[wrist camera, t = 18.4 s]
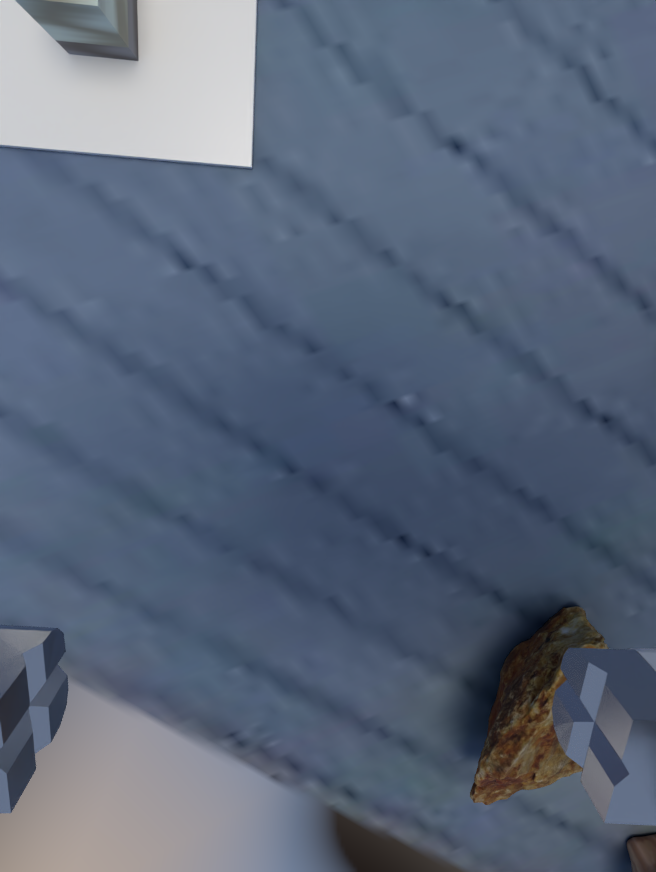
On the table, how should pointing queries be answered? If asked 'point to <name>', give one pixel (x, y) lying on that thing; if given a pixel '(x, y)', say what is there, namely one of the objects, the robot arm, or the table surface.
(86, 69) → the white board
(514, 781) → the rock
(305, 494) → the table surface
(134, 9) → the box
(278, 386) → the table surface
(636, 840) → the cupcake
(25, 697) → the robot arm
